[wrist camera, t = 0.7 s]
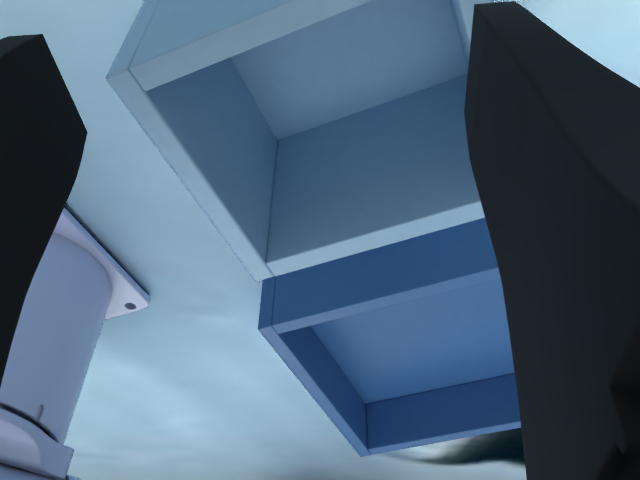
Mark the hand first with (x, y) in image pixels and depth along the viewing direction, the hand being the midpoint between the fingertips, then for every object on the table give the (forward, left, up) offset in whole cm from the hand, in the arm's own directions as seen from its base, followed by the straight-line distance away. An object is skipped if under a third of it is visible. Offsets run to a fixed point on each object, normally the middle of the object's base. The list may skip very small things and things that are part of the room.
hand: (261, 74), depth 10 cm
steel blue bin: (-1, -21, -11) cm, 24 cm away
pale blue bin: (0, -4, -11) cm, 12 cm away
